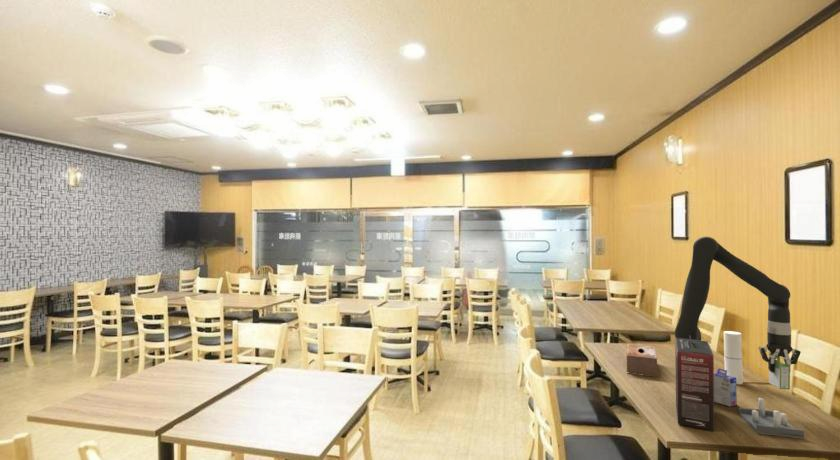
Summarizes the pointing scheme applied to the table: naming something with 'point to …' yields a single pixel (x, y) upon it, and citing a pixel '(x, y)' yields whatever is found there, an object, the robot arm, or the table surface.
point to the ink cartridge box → (725, 388)
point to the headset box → (694, 383)
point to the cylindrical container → (733, 355)
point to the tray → (769, 421)
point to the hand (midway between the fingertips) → (779, 372)
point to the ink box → (780, 375)
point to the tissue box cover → (641, 360)
